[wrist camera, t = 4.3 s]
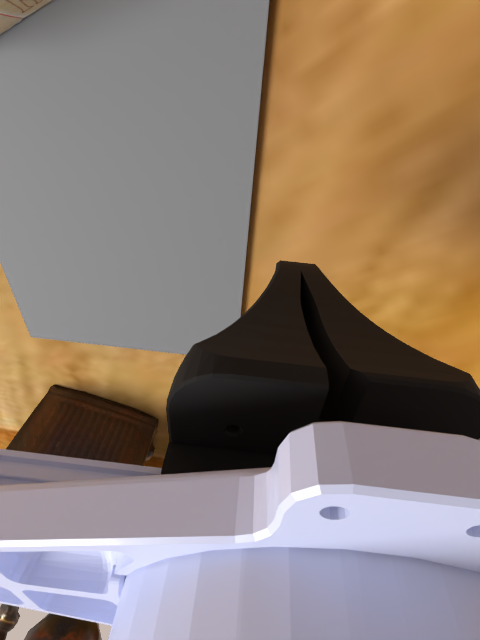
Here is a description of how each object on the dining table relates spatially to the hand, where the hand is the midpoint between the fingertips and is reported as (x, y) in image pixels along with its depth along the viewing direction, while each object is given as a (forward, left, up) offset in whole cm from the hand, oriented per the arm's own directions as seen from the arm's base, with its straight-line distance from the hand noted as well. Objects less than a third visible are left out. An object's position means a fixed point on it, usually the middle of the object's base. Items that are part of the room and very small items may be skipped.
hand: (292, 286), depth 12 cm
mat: (+10, 0, -8) cm, 13 cm away
